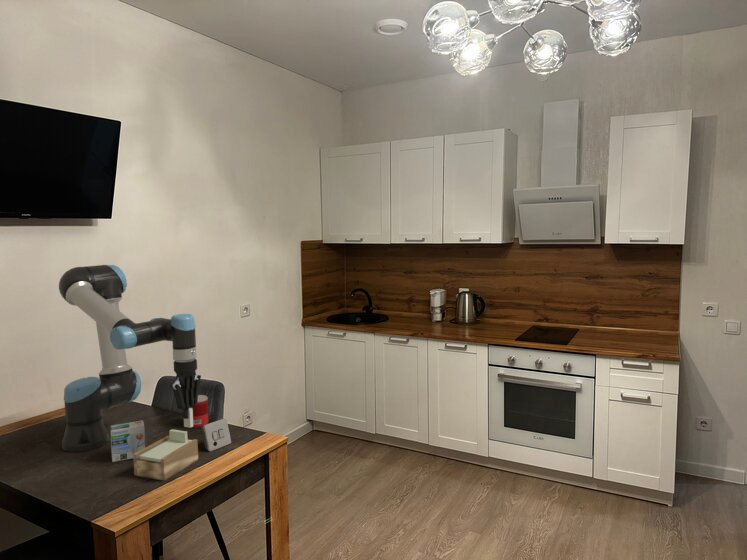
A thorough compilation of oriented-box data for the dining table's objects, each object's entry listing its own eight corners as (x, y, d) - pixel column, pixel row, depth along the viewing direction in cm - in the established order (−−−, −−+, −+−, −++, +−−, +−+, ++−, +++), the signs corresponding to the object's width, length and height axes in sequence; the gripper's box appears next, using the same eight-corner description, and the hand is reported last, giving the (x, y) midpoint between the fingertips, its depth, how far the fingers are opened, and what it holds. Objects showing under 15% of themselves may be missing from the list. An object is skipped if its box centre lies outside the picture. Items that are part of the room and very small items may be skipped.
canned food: (212, 423, 211) (211, 396, 210) (196, 430, 204) (195, 402, 203) (200, 419, 215) (198, 393, 214) (183, 426, 208) (182, 399, 207)
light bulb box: (112, 462, 176) (110, 431, 175) (111, 455, 182) (109, 425, 181) (146, 456, 181) (144, 425, 180) (145, 448, 187) (143, 419, 186)
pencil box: (134, 475, 167) (133, 454, 166) (169, 454, 182) (168, 435, 181) (164, 480, 163) (163, 459, 162) (198, 459, 178) (197, 439, 177)
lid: (139, 458, 166) (138, 445, 166) (170, 441, 180) (169, 429, 179) (159, 462, 164) (159, 448, 163) (189, 444, 177) (189, 431, 176)
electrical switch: (209, 452, 184) (207, 426, 183) (201, 450, 187) (198, 424, 187) (231, 444, 191) (229, 418, 191) (223, 441, 194) (221, 417, 194)
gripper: (181, 365, 172) (185, 434, 174) (206, 355, 184) (209, 421, 187) (162, 363, 175) (166, 432, 177) (188, 354, 187) (192, 418, 189)
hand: (188, 426), depth 182 cm, fingers closed
